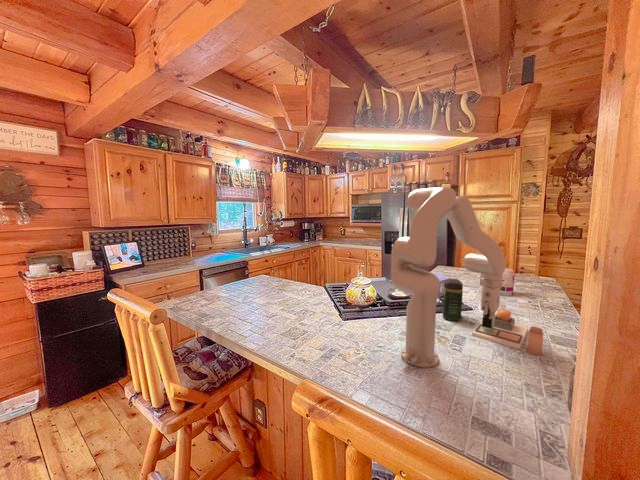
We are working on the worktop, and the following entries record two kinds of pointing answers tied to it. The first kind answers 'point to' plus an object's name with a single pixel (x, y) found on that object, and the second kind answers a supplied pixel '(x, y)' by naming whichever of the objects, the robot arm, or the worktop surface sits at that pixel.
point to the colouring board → (503, 333)
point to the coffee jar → (452, 299)
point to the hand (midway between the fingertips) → (488, 324)
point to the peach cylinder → (535, 341)
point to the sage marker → (492, 323)
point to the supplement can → (507, 283)
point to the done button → (503, 315)
